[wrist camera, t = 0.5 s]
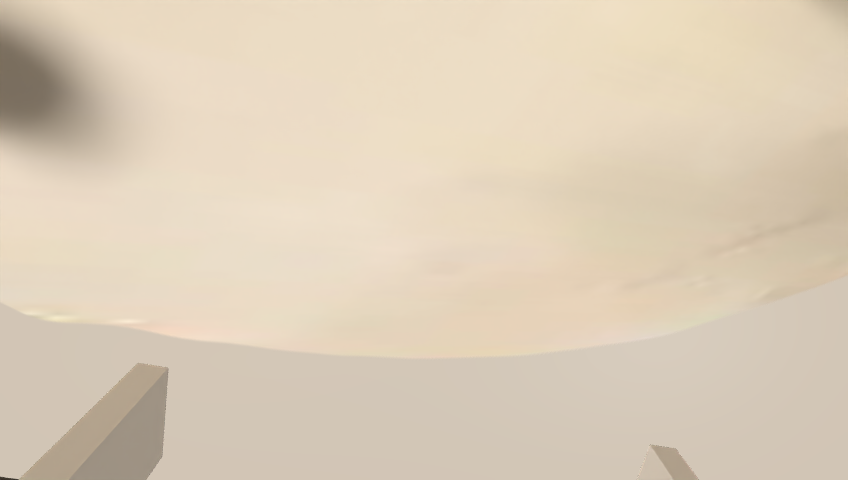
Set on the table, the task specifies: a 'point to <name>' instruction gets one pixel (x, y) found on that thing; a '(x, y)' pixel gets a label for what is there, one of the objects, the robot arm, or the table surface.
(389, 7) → the table surface
